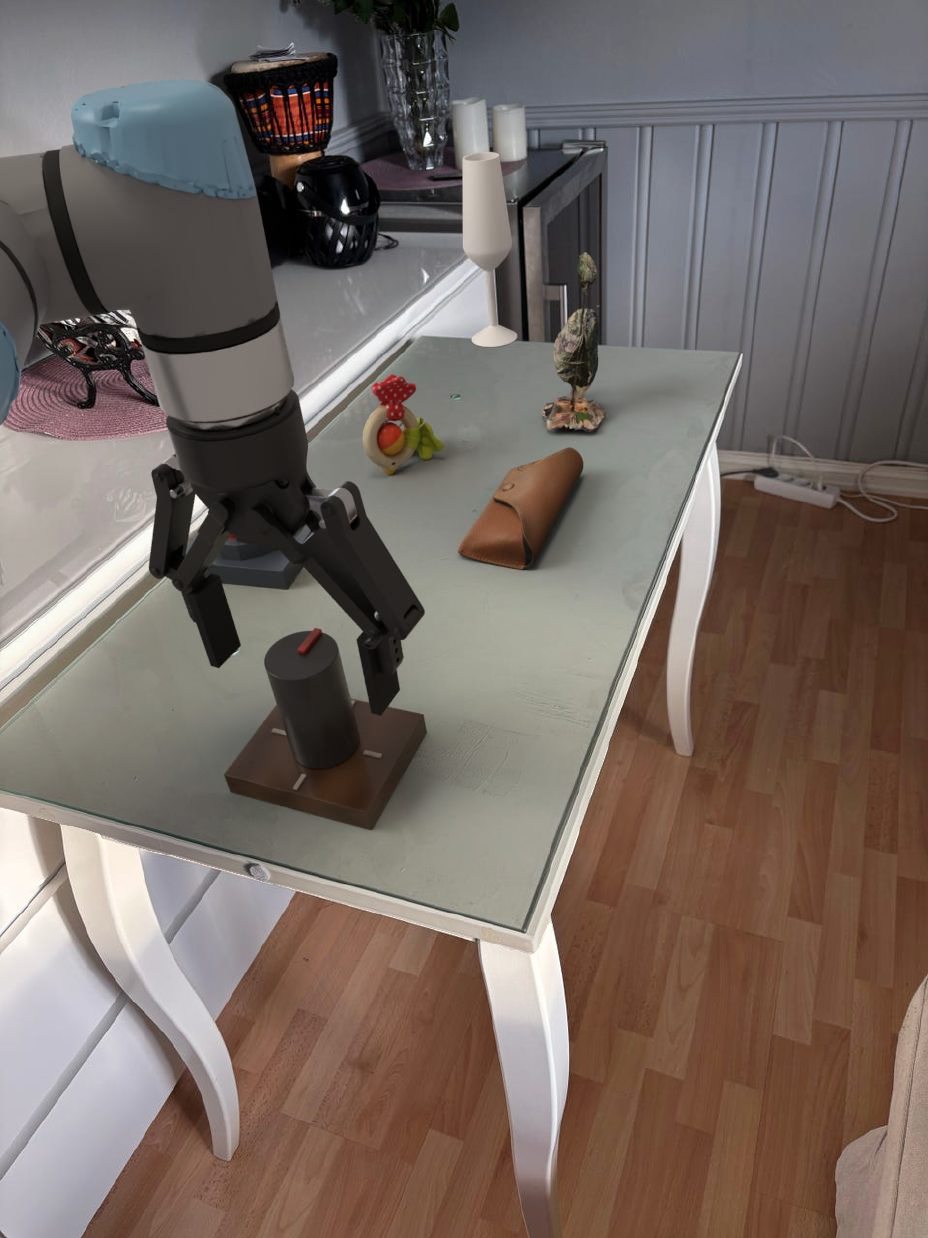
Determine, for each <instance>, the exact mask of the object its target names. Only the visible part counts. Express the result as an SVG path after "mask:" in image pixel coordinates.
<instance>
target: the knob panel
mask: <svg viewBox="0 0 928 1238" xmlns="http://www.w3.org/2000/svg"><path fill="white" fill-rule="evenodd" d="M351 702H352V706H353V710H354V715H355V719H356V723H357V727H358V731H359V736H360V739H359V744H358V747H357V749H356V751H355V752H354V753H353V754H352V755H351V756H350V757H349V758H348V759H347V760H345V761H344V762H342V763H340V764H338V765H336V766H333V767H329V768H324V769H314V768H308V767H305V766H303V765H301V764H300V763H298V762H297V761H296V760H295V758H294V757H293V755H292V752H291V748H290V745H289V742H288V739H287V736H286V733H285V729H284V726H283V723H282V720H281V717H280V713H279V710H278V707H277V704H276V703H275V706H274V707H273V708H272V710H271V711H270V712H269V714H268V715H267V716H266V718H265V719H264V720H263V722H262V723H261V724H260V726H259V727H258V728H257V730H256V731H255V733H254V734H253V735H252V736H251V738H250V739H249V741H248V742H246V744H245V745H244V747H243V748H242V750H241V751H240V752H239V754H238V755H237V757H235V759H234V760H233V762H232V763H231V764H230V765H229V767H228V768H227V770H226V771H225V773H224V774H223V776H224V778H225V779H224V780H225V781H226V784H227V786H228V789H229V792H230V793H234V794H237V795H241V796H245V797H248V798H251V799H255V800H258V801H262V802H267V803H270V804H273V805H277V806H281V807H285V808H288V809H292V810H296V811H300V812H303V813H306V814H307V813H308V814H309V815H310V814H311V815H314V816H319V817H322V818H326V819H328V820H333V821H337V822H340V823H344V824H348V825H350V826H355V827H359V828H362V829H366V830H370V831H372V830H373V829H374V828H375V825H376V823H377V822H378V820H379V818H380V817H381V815H382V812H383V811H384V809H385V807H386V805H387V804H388V802H389V800H390V799H391V797H392V795H393V793H394V792H395V789H396V787H397V786H398V785H399V782H400V780H401V779H402V777H403V776H404V774H405V771H406V770H407V768H408V767H409V764H410V763H411V761H412V760H413V758H414V756H415V754H416V752H417V751H418V748H419V747H420V745H421V743H422V742H423V740H424V738H425V736H426V734H427V732H428V731H427V725H426V718H425V715H424V714H423V713H419V712H415V711H410V710H405V709H401V708H397V707H396V708H395V707H392V706H388V707H387V708H386V710H385V711H384V713H383V714H382V715H381V716H379V715H376V714H372V713H371V709H370V704H369V701H363V700H359V699H355V698H351Z"/></svg>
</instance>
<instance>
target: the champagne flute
mask: <svg viewBox="0 0 928 1238" xmlns="http://www.w3.org/2000/svg"><path fill="white" fill-rule="evenodd" d="M512 246H513V239H512V232H511V225H510V219H509V212H508V205H507V199H506V192H505V185H504V177H503V171H502V164H501V158H500V154H499V153H498V152H495V151H483V152H482V151H481V152H475V153H474V152H473V153H470V154H466V155H465V156H463V157H462V249H463V252H464V254H465V255H466V257H467V258H468V259H469V261H471V262H472V263H473V264H474V265H476V266H477V267H478V268H479V269H481V270H483V271H484V274H485V275H484V276H485V285H486V300H487V312H488V314H487V315H488V325H487V326H485V327H484V328H482V329H481V330H480V331H478V332H476V333H475V334H474V335H473V336H472V337H471V342H472V343H473V344H474V345H475V346H477V347H478V346H479V347H484V348H497V347H502V346H506V345H509V344H511V343H513V342H515V341H516V340H517V339H518V333H517V332H515V331H514V330H512V329H509V328H507V327H506V326H502V325H500V324H498V312H497V300H496V299H497V297H496V284H495V271H494V270H495V269H497V268H498V267H499V266H500V265H501V264H502V263H503V262H504V261H505V259H506V258H507V257H508V255H509V253H510V251H511V249H512Z"/></svg>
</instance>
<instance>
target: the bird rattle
mask: <svg viewBox="0 0 928 1238" xmlns="http://www.w3.org/2000/svg"><path fill="white" fill-rule="evenodd" d="M371 390H372V393H373V395H374V396H375V398H377V400H378V401H379V402H380V404H379V405H378V407H377V408H376V409H375V410H374V411H373V412H372V413H370V415H369V417H368V418H367V420H366V422H365V425H364V427H363V431H362V446H363V449H364V452H365V454H366V456H367V457H368V459H369V460H370V461H371V462H373V464H375V465H376V466H378V467H380V468H382V469H383V471H384V473H386V474H387V475H393V474H394V473H395V472H396V470H397V469H399V467H402V466H403V465H404V464H406V463H407V462H408V461H409V460H410V459H411V457H412V456H413V455H414V453H415V452H416V450H417V453H418V456H419V457H420V458H421V459H422V460H425V461H427V460H428V461H429V460H430V459H431V458H432V457H433V454H434V452H441V451H442V450H443V449H444V447H445V444H444V442H443V441H441V439H439V438H438V437H437V436H435V435H434V431H433V428H432V426H431V425H430V423H429V422H424V418H423V417H418V418H417V417H416V415H415V414H414V413H413V412H412V410H411V409H409V407H407V406H405V405H404V404H403V403H404V402H406V401H407V400H408V399H409V398H411V397H412V396H413V395H414V394H415V392H416V391H417V385H416V384H415V383H412V382H411V383H409V382H407V380H406V378H405V377H404V376H401V375H400V376H397V375H395V374H392V373H391V374H389V375H388V376H387V377H386V378H385V379H384V380H383V381H380V382H379V381H377V382H375V383H373V384H372V386H371ZM395 422H400V424H399V425H398V424H397V423H395ZM402 425H403V428H401V427H402Z"/></svg>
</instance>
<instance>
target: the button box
mask: <svg viewBox="0 0 928 1238" xmlns="http://www.w3.org/2000/svg"><path fill="white" fill-rule="evenodd" d="M198 534H199V533H198V532H197V533H196V534H195V535H194V536H193V538H191V540H190V541H188V544H187V550H186V554H187V553H188V551H189V549H190V548H191V546H192V544H193V542H194V541H195V539H196V537H197V536H198ZM310 535H311V530H310V529H309V528H308V527H307V525H305V526H304V528H303V530H302V532H301V533H300V534H299V535H298V536H297V537H296V538H295V539H296V540H297V541H298V542H299V543H301V544H302V543H303V542H304V541H305V540H306V539H307V538H308V537H309V536H310ZM212 564H213V565H214V566H212V567H211V568H210V569H209V570H208V571H207V572H206V573H205V574H204V575H205V578H206V577H207V576H209V575H210V574H211V573H212V574H216V575H220V579H221V582H222V584H230V585H238V586H247V587H248V586H249V587H260V588H269V589H279V590H280V589H281V590H289V588H290V586H291V585H292V583H293V582H294V580H296V578H297V576H298V575H299V573H300V571H301V570H302V569H303V568H304V567H303V566H302V565H300V564H293V563H291V562H290V561H289V560H288V559H287V558H286V557H285V556H284V555H283V553H282V552H281V551H280V550H278V551H277V550H273V549H268V548H266V547H263V546H261V545H259V544H257V543H250V544H246V543H242V542H237V540H236V538H228V540H227V541H226V543H225V544H224V546H223V547H222V549H221V551H220V552H219V554H218V555H217V557H216V558H215V560H214V562H213V563H212Z"/></svg>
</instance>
